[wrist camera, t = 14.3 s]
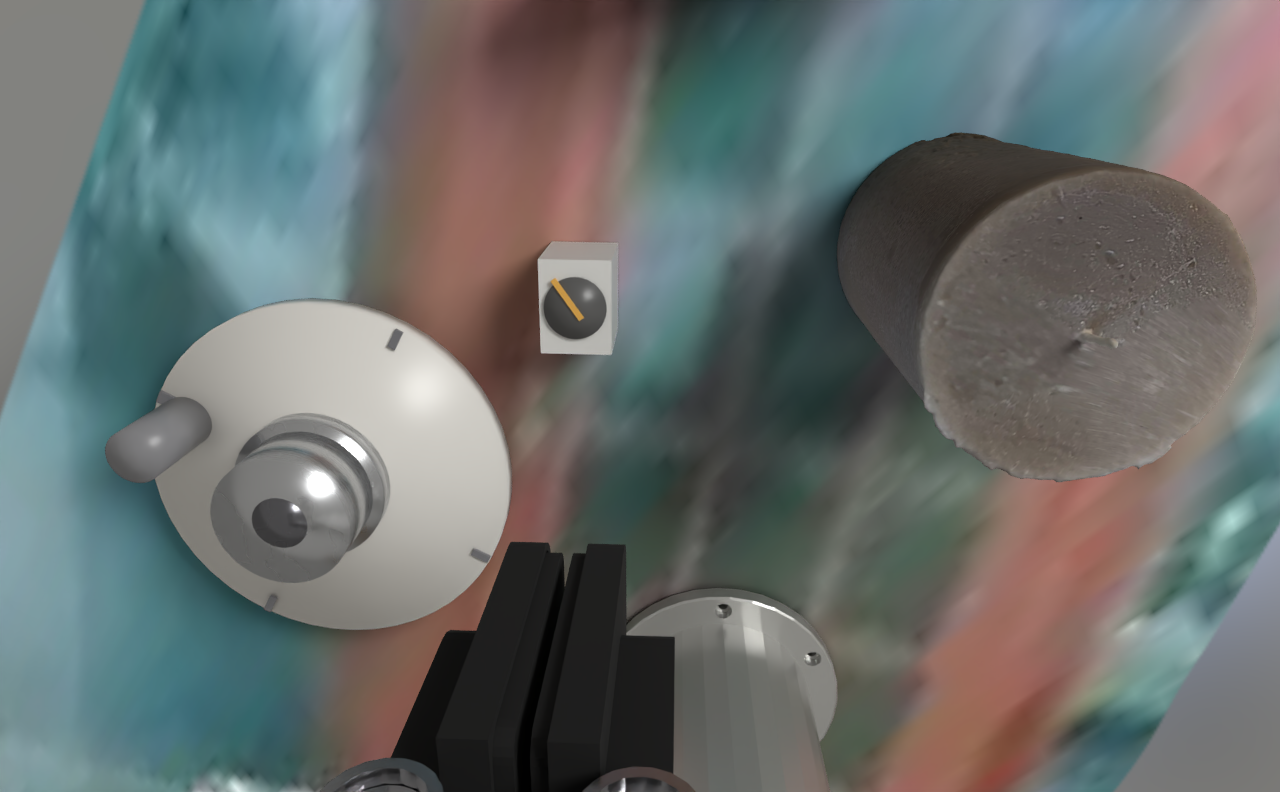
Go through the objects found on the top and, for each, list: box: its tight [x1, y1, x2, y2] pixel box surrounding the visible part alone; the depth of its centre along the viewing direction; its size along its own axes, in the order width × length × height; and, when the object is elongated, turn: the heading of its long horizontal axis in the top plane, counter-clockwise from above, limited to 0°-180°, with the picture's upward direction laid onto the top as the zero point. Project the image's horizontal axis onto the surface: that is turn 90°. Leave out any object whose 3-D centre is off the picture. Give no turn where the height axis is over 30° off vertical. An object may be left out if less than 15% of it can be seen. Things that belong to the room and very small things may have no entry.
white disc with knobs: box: [105, 298, 512, 630], centre depth 39 cm, size 17×17×6 cm
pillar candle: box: [837, 133, 1257, 482], centre depth 30 cm, size 10×10×15 cm
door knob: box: [210, 413, 390, 583], centre depth 38 cm, size 7×7×4 cm
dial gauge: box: [538, 241, 618, 355], centre depth 36 cm, size 4×3×4 cm
